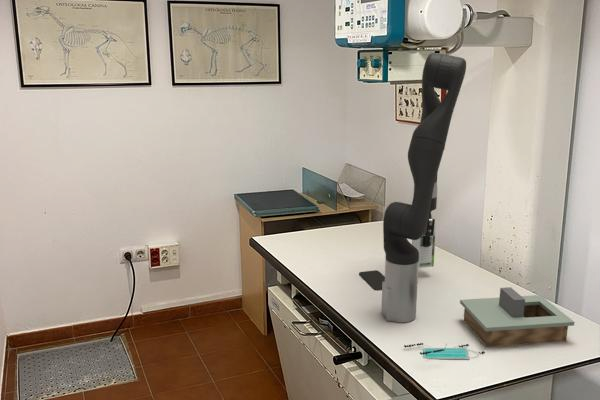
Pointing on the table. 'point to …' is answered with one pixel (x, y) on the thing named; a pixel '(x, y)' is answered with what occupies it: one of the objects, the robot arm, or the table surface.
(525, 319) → the lid
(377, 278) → the phone
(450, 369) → the table surface
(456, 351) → the surgical mask
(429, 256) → the syrup box
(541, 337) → the wooden frame
